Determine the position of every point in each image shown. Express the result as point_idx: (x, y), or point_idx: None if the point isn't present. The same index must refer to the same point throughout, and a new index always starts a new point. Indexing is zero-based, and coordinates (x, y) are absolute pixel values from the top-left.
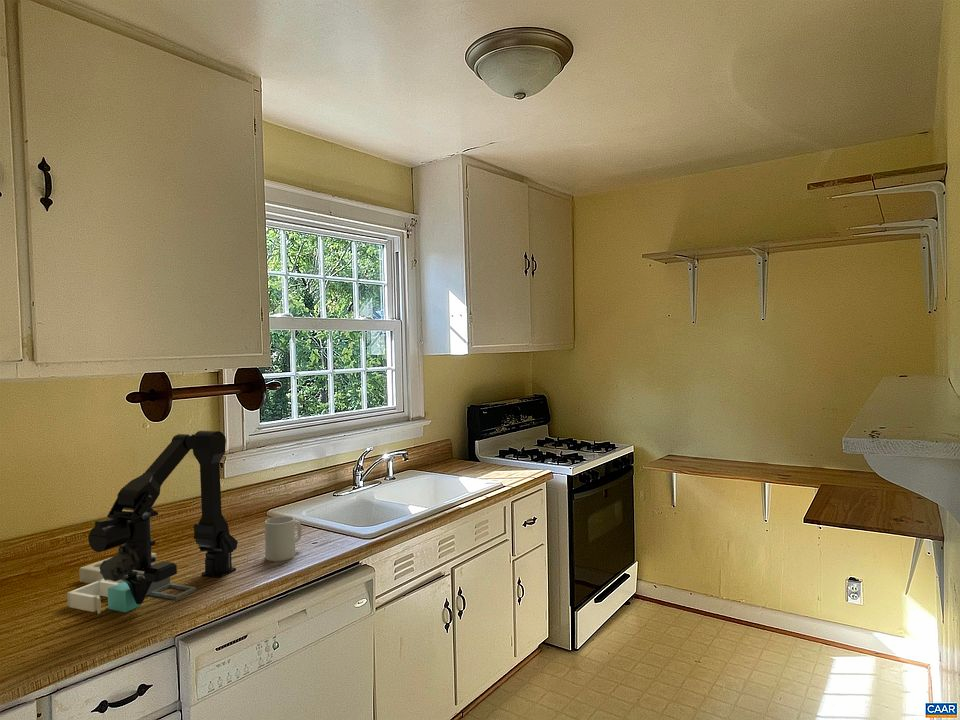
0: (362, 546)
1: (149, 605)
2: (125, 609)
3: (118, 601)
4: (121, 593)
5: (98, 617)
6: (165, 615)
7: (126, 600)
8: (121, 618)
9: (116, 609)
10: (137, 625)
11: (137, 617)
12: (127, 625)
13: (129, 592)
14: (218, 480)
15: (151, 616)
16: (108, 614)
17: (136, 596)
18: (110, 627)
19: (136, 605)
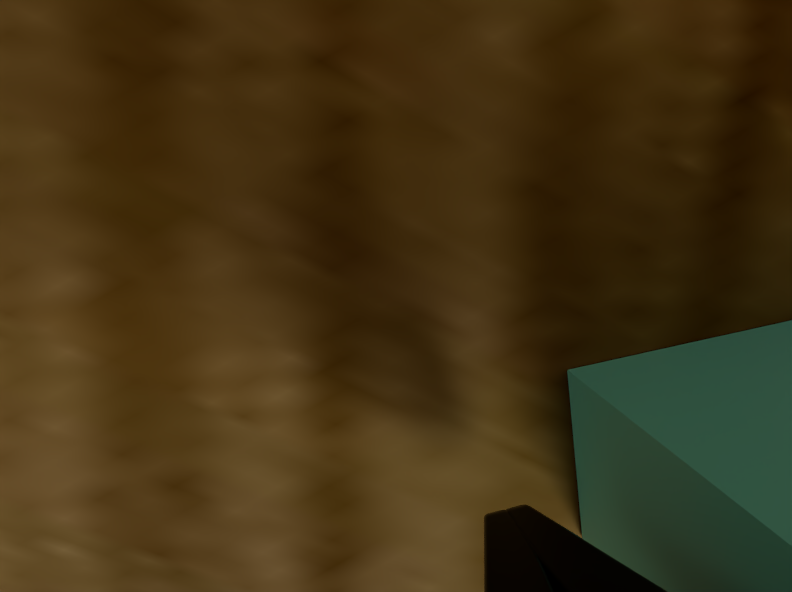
0: None
1: None
2: (591, 379)
3: (779, 389)
4: None
5: (739, 121)
6: (55, 574)
7: (657, 451)
8: (454, 253)
9: (725, 341)
10: (36, 247)
11: (303, 371)
12: (160, 176)
13: (745, 585)
14: None
15: (178, 473)
16: (704, 232)
17: (539, 588)
18: (303, 16)
19: (591, 505)
